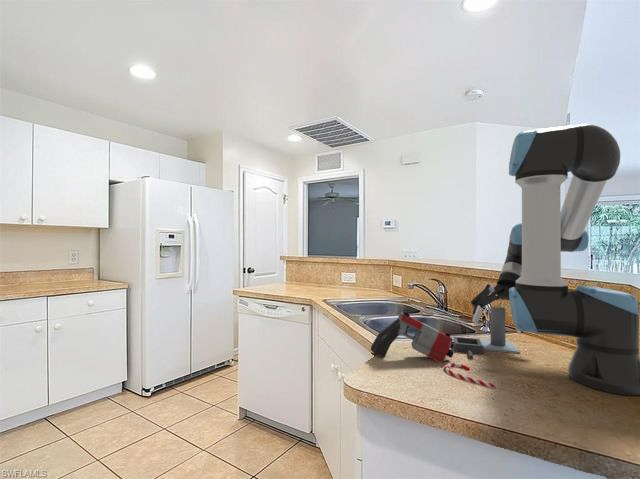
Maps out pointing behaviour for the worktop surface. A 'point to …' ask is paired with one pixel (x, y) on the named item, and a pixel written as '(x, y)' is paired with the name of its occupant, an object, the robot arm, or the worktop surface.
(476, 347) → the grey recessed block
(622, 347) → the robot arm
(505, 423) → the worktop surface
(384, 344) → the toy gun
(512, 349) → the slate mat
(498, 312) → the rod
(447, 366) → the candy cane
